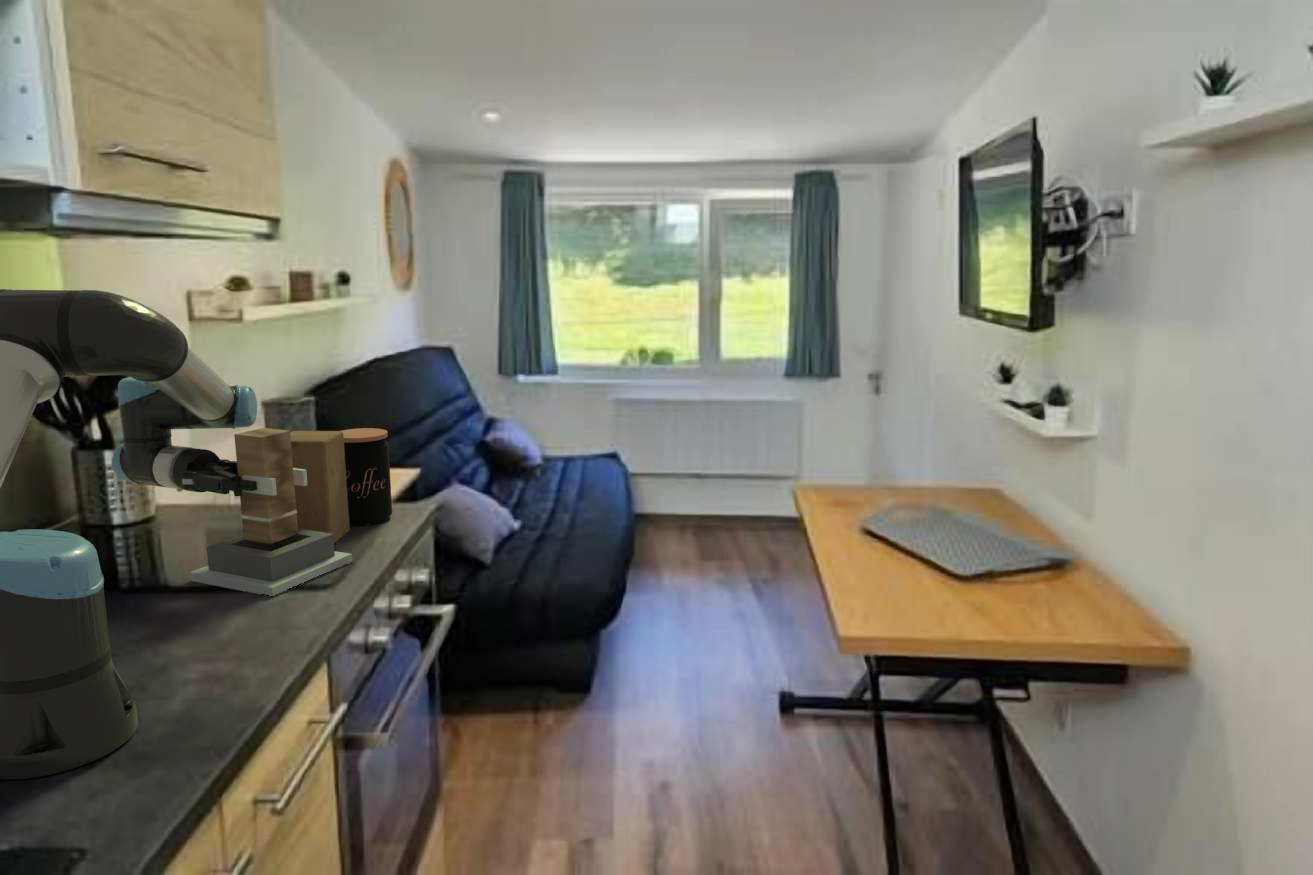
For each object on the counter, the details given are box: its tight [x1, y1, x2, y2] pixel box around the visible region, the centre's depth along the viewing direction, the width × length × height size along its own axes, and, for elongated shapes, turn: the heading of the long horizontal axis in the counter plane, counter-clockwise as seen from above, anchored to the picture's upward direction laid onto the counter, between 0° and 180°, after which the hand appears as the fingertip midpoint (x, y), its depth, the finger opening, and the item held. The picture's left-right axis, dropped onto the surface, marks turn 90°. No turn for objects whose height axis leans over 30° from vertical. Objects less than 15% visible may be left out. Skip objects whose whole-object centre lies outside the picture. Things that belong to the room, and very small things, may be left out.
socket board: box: [189, 529, 353, 597], centre depth 153 cm, size 18×18×6 cm
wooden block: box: [290, 430, 351, 544], centre depth 169 cm, size 10×10×20 cm
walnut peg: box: [233, 427, 298, 544], centre depth 150 cm, size 6×6×18 cm
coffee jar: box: [340, 427, 393, 527], centre depth 182 cm, size 11×11×18 cm
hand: (289, 482), depth 148 cm, fingers closed on walnut peg, 6 cm apart
